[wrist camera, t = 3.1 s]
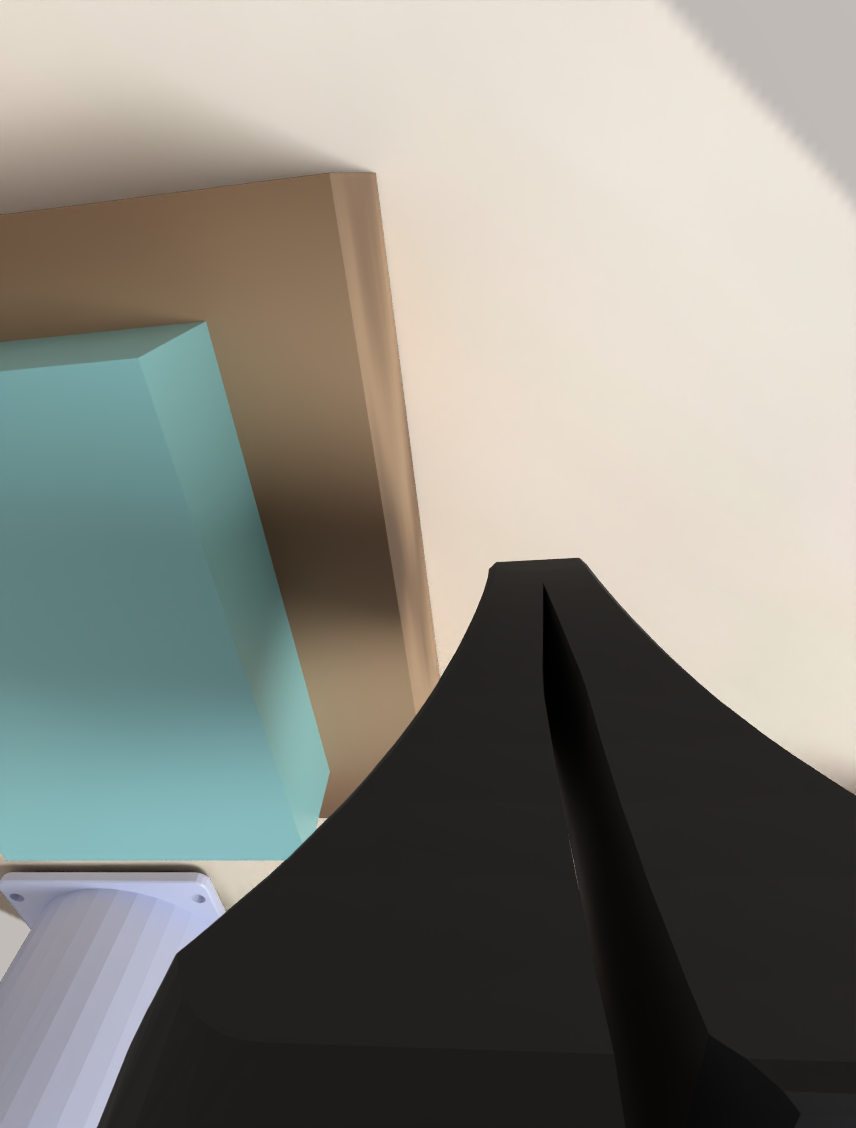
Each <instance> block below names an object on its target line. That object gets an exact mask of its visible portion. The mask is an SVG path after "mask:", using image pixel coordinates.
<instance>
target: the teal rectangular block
mask: <svg viewBox="0 0 856 1128" xmlns="http://www.w3.org/2000/svg"><path fill="white" fill-rule="evenodd" d="M329 773H330V771H329V767H328V763H327V760H326V756H325V752H324V749H323V745H322V742H321V738H320V734H319V731H318V727H317V723H316V720H315V716H314V712H313V709H312V705H311V702H310V698H309V694H308V691H307V687H306V683H305V680H304V676H303V672H302V669H301V665H300V661H299V658H298V654H297V651H296V647H295V643H294V640H293V636H292V632H291V629H290V625H289V621H288V618H287V614H286V611H285V607H284V603H283V600H282V596H281V592H280V589H279V585H278V581H277V578H276V574H275V571H274V567H273V563H272V560H271V556H270V552H269V549H268V545H267V541H266V538H265V534H264V531H263V527H262V523H261V520H260V516H259V512H258V509H257V505H256V501H255V498H254V494H253V491H252V487H251V483H250V480H249V476H248V472H247V469H246V465H245V461H244V458H243V454H242V451H241V447H240V443H239V440H238V436H237V432H236V429H235V425H234V421H233V418H232V414H231V411H230V407H229V403H228V400H227V396H226V392H225V389H224V385H223V381H222V378H221V374H220V371H219V367H218V363H217V360H216V356H215V352H214V349H213V345H212V341H211V338H210V334H209V331H208V327H207V323H206V321H202V322H192V323H183V324H173V325H163V326H153V327H144V328H134V329H124V330H115V331H105V332H95V333H85V334H76V335H66V336H56V337H46V338H37V339H27V340H17V341H8V342H0V853H1V854H2V855H3V857H4V858H5V859H6V861H138V860H286V859H287V858H288V857H289V856H290V855H291V854H292V853H293V852H294V851H295V850H296V849H297V848H298V847H299V846H300V845H301V844H302V843H303V842H304V841H305V840H306V839H307V838H308V837H309V836H310V835H311V834H312V833H313V832H314V831H315V830H316V826H317V822H318V818H319V814H320V810H321V806H322V802H323V798H324V794H325V790H326V786H327V782H328V777H329Z"/></svg>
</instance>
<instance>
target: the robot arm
mask: <svg viewBox="0 0 856 1128" xmlns="http://www.w3.org/2000/svg"><path fill="white" fill-rule="evenodd" d="M569 840H570V842H569ZM570 845H571V847H570ZM571 850H572V852H571ZM572 854H573V858H572ZM573 859H574V863H573ZM574 864H575V868H574ZM575 870H576V873H575ZM576 875H577V879H576ZM577 881H578V884H577ZM578 887H579V888H578ZM0 891H1V892H2V893H3V895H4V896H5V897H6V898H7V900H8V901H9V902H10V904H11V905H12V906H13V907H14V909H15V910H16V911H17V912H18V914H19V915H20V916H21V917H22V919H23V920H24V921H25V923H26V924H27V925H28V926H29V927H30V929H31V931H30V933H29V935H28V936H27V938H26V940H25V941H24V943H23V945H22V946H21V948H20V950H19V951H18V953H17V955H16V956H15V958H14V960H13V962H12V963H11V965H10V967H9V968H8V970H7V972H6V973H5V975H4V977H3V978H2V980H1V982H0V1128H856V796H855V795H854V794H852V793H851V792H849V791H847V790H846V789H844V788H843V787H841V786H840V785H838V784H837V783H835V782H834V781H832V780H831V779H829V778H828V777H826V776H824V775H823V774H821V773H820V772H818V771H817V770H815V769H814V768H812V767H811V766H809V765H808V764H806V763H805V762H803V761H801V760H800V759H798V758H797V757H795V756H794V755H792V754H791V753H790V752H788V751H787V750H785V749H784V748H782V747H781V746H780V745H778V744H777V743H775V742H774V741H772V740H771V739H770V738H768V737H767V736H765V735H764V734H763V733H761V732H760V731H759V730H757V729H756V728H755V727H753V726H752V725H751V724H749V723H748V722H747V721H746V720H744V719H743V718H742V717H740V716H739V715H738V714H736V713H735V712H734V711H732V710H731V709H730V708H728V707H727V706H726V705H725V704H723V703H722V702H721V701H720V700H718V699H717V698H716V697H715V696H714V695H712V694H711V693H710V692H709V691H708V690H707V689H705V688H704V687H703V686H702V685H701V684H700V683H698V682H697V681H696V680H695V679H694V678H693V677H692V676H691V675H690V674H688V673H687V672H686V671H685V670H684V669H683V668H682V667H681V666H680V665H679V664H677V663H676V662H675V661H674V660H673V659H672V658H671V657H670V656H669V655H668V654H667V653H666V652H665V651H664V650H663V649H662V648H661V647H660V646H659V645H658V644H657V643H656V642H655V641H654V640H653V639H652V638H651V637H650V636H649V635H648V634H647V633H646V632H645V631H644V630H643V629H642V628H641V627H640V626H639V625H638V624H637V623H636V622H635V621H634V620H633V619H632V618H631V616H630V615H629V614H628V613H627V612H626V611H625V610H624V609H623V608H622V607H621V605H620V604H619V603H618V602H617V601H616V600H615V599H614V597H613V596H612V595H611V594H610V593H609V592H608V590H607V589H606V588H605V587H604V586H603V584H602V583H601V582H600V581H599V580H598V578H597V577H596V576H595V575H594V573H593V572H592V571H591V570H590V568H589V567H588V566H587V564H586V563H584V562H583V561H582V560H581V559H580V558H567V559H548V560H529V561H511V562H496V563H495V564H494V565H493V566H492V567H491V568H490V569H489V574H488V579H487V582H486V586H485V589H484V592H483V595H482V597H481V600H480V602H479V605H478V607H477V610H476V612H475V614H474V617H473V619H472V621H471V623H470V625H469V627H468V629H467V631H466V633H465V635H464V637H463V639H462V641H461V643H460V645H459V647H458V649H457V651H456V653H455V654H454V656H453V658H452V659H451V661H450V663H449V664H448V666H447V668H446V669H445V671H444V673H443V675H442V676H441V678H440V680H439V681H438V683H437V685H436V686H435V688H434V689H433V691H432V693H431V694H430V696H429V697H428V698H427V700H426V701H425V703H424V704H423V706H422V707H421V709H420V710H419V712H418V713H417V714H416V716H415V717H414V719H413V720H412V721H411V723H410V724H409V725H408V727H407V728H406V729H405V731H404V732H403V733H402V735H401V736H400V737H399V739H398V740H397V741H396V743H395V744H394V745H393V746H392V747H391V749H390V750H389V751H388V752H387V753H386V755H385V756H384V757H383V758H382V759H381V761H380V762H379V763H378V764H377V765H376V767H375V768H374V769H373V770H372V771H371V773H370V774H369V775H368V776H367V777H366V778H365V780H364V781H363V782H362V783H361V784H360V785H359V786H358V787H357V789H356V790H355V791H354V792H353V793H352V794H351V795H350V796H349V797H348V798H347V799H346V800H345V802H344V803H343V804H342V805H341V806H340V807H339V808H338V809H337V810H336V811H335V812H334V813H333V814H332V815H331V816H330V817H329V818H328V819H327V820H326V821H325V822H324V823H323V824H322V825H321V826H320V827H319V828H318V829H316V830H315V831H314V832H313V833H312V834H311V835H310V836H309V837H308V838H307V839H306V840H305V841H304V842H303V843H302V844H301V845H300V846H299V847H298V848H297V849H296V850H295V851H294V852H293V853H292V854H291V855H290V856H289V857H288V858H287V859H286V860H285V861H284V862H283V863H282V864H281V865H280V866H279V867H277V868H276V869H275V870H274V871H273V872H272V873H271V874H270V875H269V876H268V877H266V878H265V879H264V880H263V881H262V882H261V883H259V884H258V885H257V886H256V887H255V888H253V889H252V890H251V891H250V892H249V893H248V894H246V895H245V896H244V897H243V898H242V899H241V900H239V901H238V902H237V903H236V904H235V905H234V906H232V907H231V908H230V909H229V910H228V911H227V912H226V911H225V909H224V907H223V905H222V903H221V900H220V898H219V896H218V894H217V892H216V890H215V888H214V886H213V884H212V882H211V880H210V879H209V878H208V877H207V876H206V875H204V874H201V873H197V872H9V873H6V874H4V875H3V877H2V878H1V880H0Z"/></svg>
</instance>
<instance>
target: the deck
mask: <svg viewBox="0 0 856 1128" xmlns="http://www.w3.org/2000/svg"><path fill="white" fill-rule="evenodd" d="M202 321H206V323H207V327H208V331H209V334H210V338H211V341H212V345H213V349H214V352H215V356H216V360H217V363H218V367H219V371H220V374H221V378H222V381H223V385H224V389H225V392H226V396H227V400H228V403H229V407H230V411H231V414H232V418H233V421H234V425H235V429H236V432H237V436H238V440H239V443H240V447H241V451H242V454H243V458H244V461H245V465H246V469H247V472H248V476H249V480H250V483H251V487H252V491H253V494H254V498H255V501H256V505H257V509H258V512H259V516H260V520H261V523H262V527H263V531H264V534H265V538H266V541H267V545H268V549H269V552H270V556H271V560H272V563H273V567H274V571H275V574H276V578H277V581H278V585H279V589H280V592H281V596H282V600H283V603H284V607H285V611H286V614H287V618H288V621H289V625H290V629H291V632H292V636H293V640H294V643H295V647H296V651H297V654H298V658H299V661H300V665H301V669H302V672H303V676H304V680H305V683H306V687H307V691H308V694H309V698H310V702H311V705H312V709H313V712H314V716H315V720H316V723H317V727H318V731H319V734H320V738H321V742H322V745H323V749H324V752H325V756H326V760H327V763H328V767H329V771H330V773H329V777H328V782H327V786H326V790H325V794H324V798H323V802H322V806H321V810H320V814H319V818H329V817H330V816H331V815H332V814H333V813H334V812H335V811H336V810H337V809H338V808H339V807H340V806H341V805H342V804H343V803H344V802H345V800H346V799H347V798H348V797H349V796H350V795H351V794H352V793H353V792H354V791H355V790H356V789H357V787H358V786H359V785H360V784H361V783H362V782H363V781H364V780H365V778H366V777H367V776H368V775H369V774H370V773H371V771H372V770H373V769H374V768H375V767H376V765H377V764H378V763H379V762H380V761H381V759H382V758H383V757H384V756H385V755H386V753H387V752H388V751H389V750H390V749H391V747H392V746H393V745H394V744H395V743H396V741H397V740H398V739H399V737H400V736H401V735H402V733H403V732H404V731H405V729H406V728H407V727H408V725H409V724H410V723H411V721H412V720H413V719H414V717H415V716H416V714H417V713H418V712H419V710H420V709H421V707H422V706H423V704H424V703H425V701H426V700H427V698H428V697H429V696H430V694H431V693H432V691H433V689H434V688H435V686H436V685H437V683H438V681H439V680H440V676H439V668H438V660H437V652H436V644H435V636H434V628H433V620H432V613H431V605H430V597H429V589H428V581H427V573H426V565H425V557H424V550H423V542H422V534H421V526H420V518H419V510H418V502H417V494H416V487H415V479H414V471H413V463H412V455H411V447H410V439H409V431H408V424H407V416H406V408H405V400H404V392H403V384H402V376H401V368H400V361H399V353H398V345H397V337H396V329H395V321H394V313H393V306H392V298H391V290H390V282H389V274H388V266H387V258H386V250H385V243H384V235H383V227H382V219H381V211H380V203H379V195H378V187H377V180H376V173H325V174H317V175H309V176H301V177H293V178H285V179H278V180H270V181H262V182H254V183H246V184H238V185H231V186H223V187H215V188H207V189H199V190H191V191H184V192H176V193H168V194H160V195H152V196H145V197H137V198H129V199H121V200H113V201H105V202H98V203H90V204H82V205H74V206H66V207H58V208H51V209H43V210H35V211H27V212H19V213H12V214H4V215H0V342H8V341H17V340H27V339H37V338H46V337H56V336H66V335H76V334H85V333H95V332H105V331H115V330H124V329H134V328H144V327H153V326H163V325H173V324H183V323H192V322H202Z"/></svg>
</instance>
